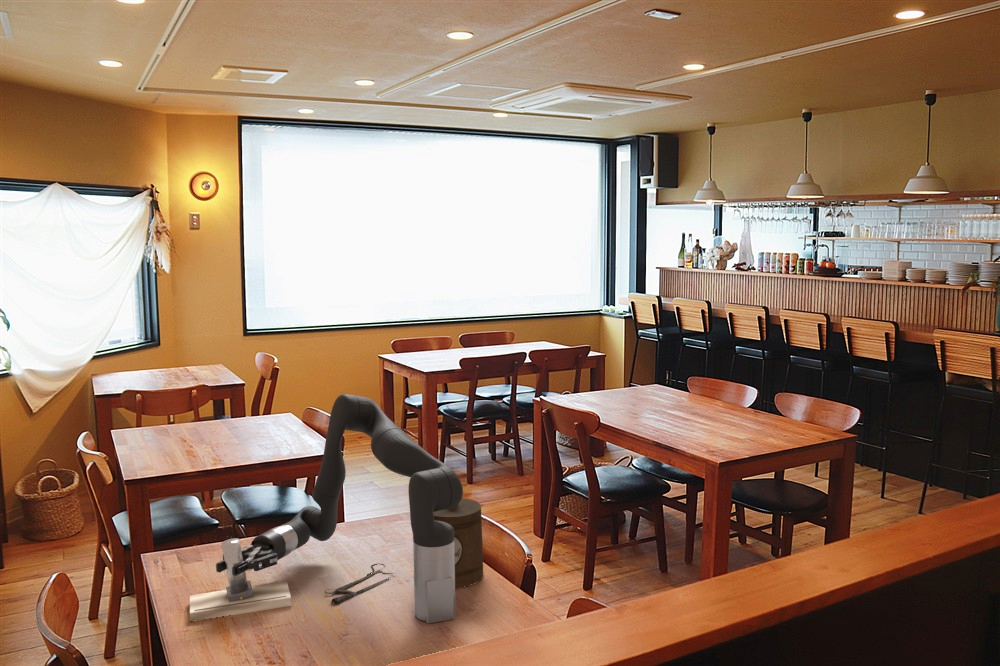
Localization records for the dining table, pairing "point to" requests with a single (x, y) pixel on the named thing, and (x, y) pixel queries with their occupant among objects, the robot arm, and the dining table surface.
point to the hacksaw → (350, 593)
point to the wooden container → (465, 540)
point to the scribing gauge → (238, 583)
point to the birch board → (239, 601)
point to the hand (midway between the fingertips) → (225, 569)
